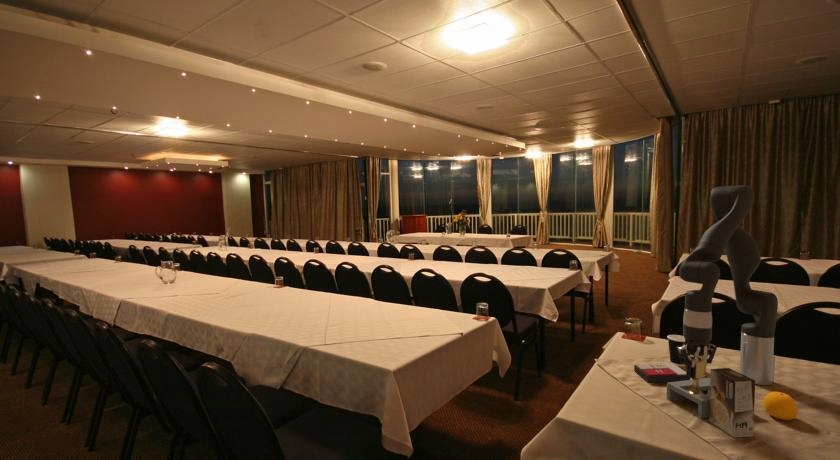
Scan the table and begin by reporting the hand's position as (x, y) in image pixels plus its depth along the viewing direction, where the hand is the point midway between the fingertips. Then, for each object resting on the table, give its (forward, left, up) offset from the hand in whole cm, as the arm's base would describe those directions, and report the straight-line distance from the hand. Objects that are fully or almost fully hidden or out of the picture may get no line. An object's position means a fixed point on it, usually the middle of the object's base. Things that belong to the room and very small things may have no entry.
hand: (695, 376), depth 129 cm
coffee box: (+1, +13, -10) cm, 16 cm away
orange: (-20, +11, -10) cm, 25 cm away
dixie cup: (-24, -30, -10) cm, 39 cm away
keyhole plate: (-5, 0, -10) cm, 11 cm away
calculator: (-7, -21, -10) cm, 25 cm away
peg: (0, 0, -7) cm, 7 cm away
